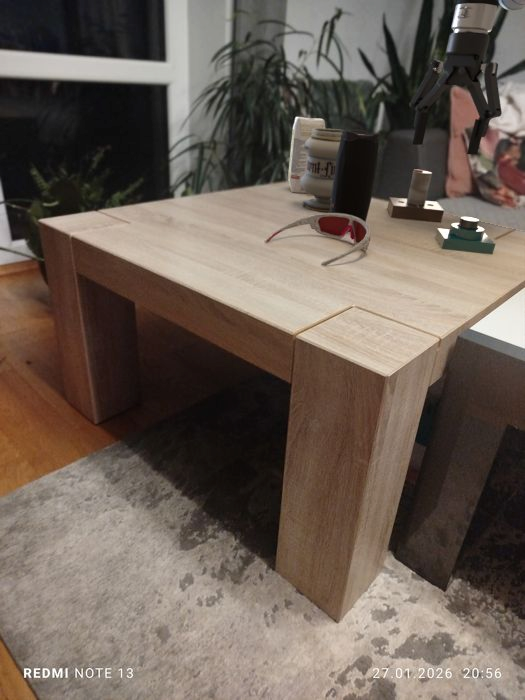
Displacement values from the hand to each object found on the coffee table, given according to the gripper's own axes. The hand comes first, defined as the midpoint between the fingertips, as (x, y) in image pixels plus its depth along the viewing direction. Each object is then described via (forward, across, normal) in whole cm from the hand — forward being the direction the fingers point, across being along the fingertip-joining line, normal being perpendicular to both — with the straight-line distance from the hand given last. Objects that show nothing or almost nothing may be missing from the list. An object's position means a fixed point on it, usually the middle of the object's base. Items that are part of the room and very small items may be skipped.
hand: (443, 149), depth 108 cm
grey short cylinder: (+13, +13, -5) cm, 19 cm away
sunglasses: (+17, 0, -34) cm, 38 cm away
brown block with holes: (+17, -9, +7) cm, 20 cm away
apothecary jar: (+17, -25, -10) cm, 31 cm away
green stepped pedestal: (+17, +13, -5) cm, 22 cm away
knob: (+14, -9, +7) cm, 18 cm away
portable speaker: (+17, -8, -18) cm, 26 cm away
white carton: (+17, -41, -1) cm, 45 cm away
